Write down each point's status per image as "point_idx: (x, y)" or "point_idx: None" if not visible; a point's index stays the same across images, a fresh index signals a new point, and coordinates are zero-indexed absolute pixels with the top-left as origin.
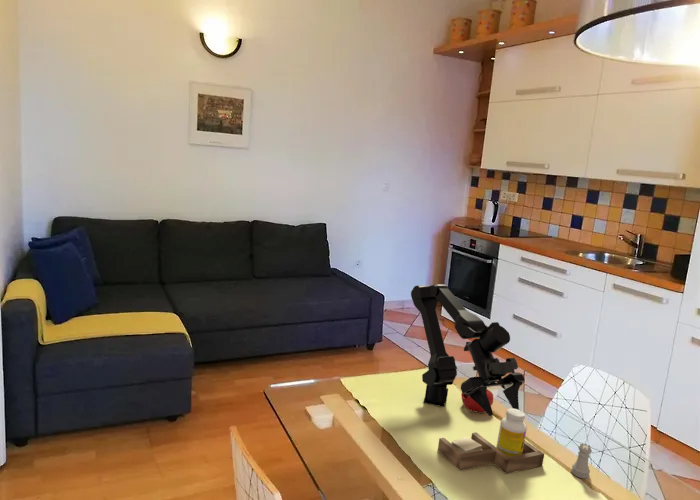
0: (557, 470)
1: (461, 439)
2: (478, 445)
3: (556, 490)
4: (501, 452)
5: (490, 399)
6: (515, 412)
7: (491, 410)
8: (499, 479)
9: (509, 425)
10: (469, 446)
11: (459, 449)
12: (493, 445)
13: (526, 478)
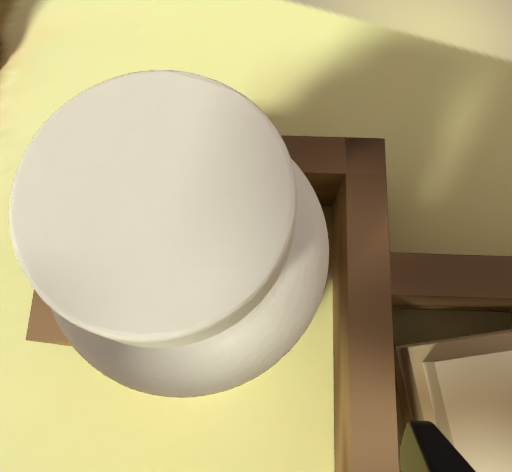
0: (44, 113)
1: None
2: (464, 370)
3: (210, 5)
4: (357, 229)
5: None
6: (166, 189)
7: (446, 463)
8: (437, 150)
9: (305, 195)
10: None
11: None
12: (350, 323)
13: (280, 113)
